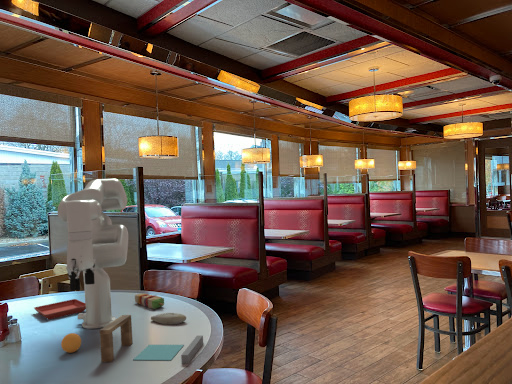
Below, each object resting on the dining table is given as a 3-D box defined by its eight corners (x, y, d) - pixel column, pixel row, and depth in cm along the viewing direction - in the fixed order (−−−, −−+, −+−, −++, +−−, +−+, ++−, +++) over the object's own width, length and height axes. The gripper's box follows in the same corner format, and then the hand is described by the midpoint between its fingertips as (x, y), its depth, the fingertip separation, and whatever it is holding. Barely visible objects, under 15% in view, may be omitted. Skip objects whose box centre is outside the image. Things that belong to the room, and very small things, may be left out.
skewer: (132, 304, 192) (132, 293, 192) (145, 301, 196) (144, 290, 196) (156, 312, 177) (156, 300, 177) (169, 308, 182) (169, 297, 182)
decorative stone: (155, 319, 167) (154, 310, 167) (190, 320, 163) (189, 312, 163) (147, 324, 161) (146, 315, 161) (183, 326, 157) (182, 316, 157)
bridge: (101, 362, 126) (99, 330, 126) (124, 343, 141) (122, 314, 141) (110, 362, 126) (108, 330, 126) (132, 343, 141) (131, 314, 140)
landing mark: (133, 360, 126) (133, 359, 126) (149, 345, 138) (149, 344, 138) (171, 360, 124) (171, 359, 124) (183, 345, 136) (183, 344, 136)
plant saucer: (33, 314, 185) (33, 307, 185) (75, 305, 197) (75, 298, 197) (45, 322, 171) (44, 314, 171) (89, 312, 183) (89, 304, 183)
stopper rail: (181, 363, 122) (181, 355, 122) (197, 343, 138) (197, 335, 138) (188, 363, 122) (187, 355, 122) (203, 343, 137) (202, 335, 137)
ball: (57, 355, 133) (56, 337, 133) (68, 348, 139) (67, 330, 139) (75, 355, 132) (74, 337, 132) (85, 348, 138) (84, 330, 138)
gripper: (82, 234, 150) (84, 282, 150) (55, 240, 133) (58, 293, 133) (102, 233, 150) (105, 281, 149) (77, 239, 132) (80, 293, 132)
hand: (82, 287), depth 141 cm, fingers open, 9 cm apart
